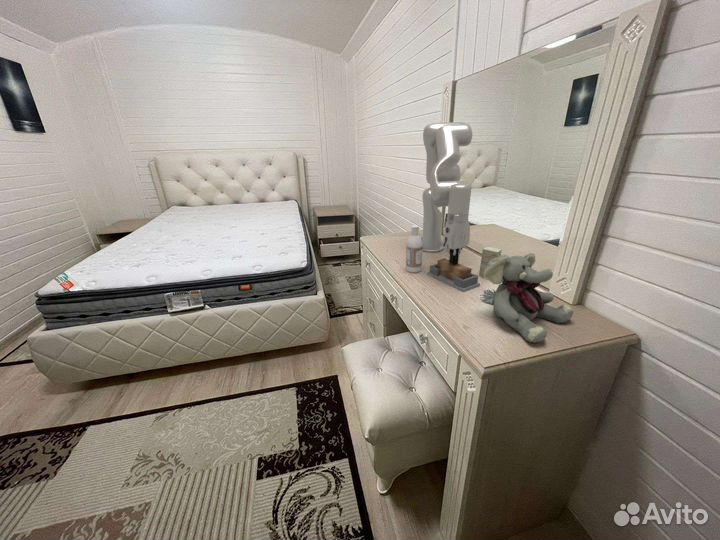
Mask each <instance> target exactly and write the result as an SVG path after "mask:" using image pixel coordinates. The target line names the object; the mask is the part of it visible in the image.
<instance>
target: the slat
mask: <svg viewBox="0 0 720 540" xmlns="http://www.w3.org/2000/svg"><path fill="white" fill-rule="evenodd" d="M436 262H437V263H436V264H437V268H439V269H440V271H439V275H441V276H443V277H446V278H448V279H450V280H452V281H454V277H456V276H457V277H459V278H461V279H466V278H469V277H471V273H472V268H471V267H469V266H466V265H463V264H461V263H458V264H455V265H454V264H452V263H450V262H449V259H448V258H446V257H445V258H441V259H438V260H437V261H436Z"/></svg>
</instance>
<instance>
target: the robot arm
mask: <svg viewBox="0 0 720 540" xmlns="http://www.w3.org/2000/svg"><path fill="white" fill-rule="evenodd" d="M422 135H423V136H422V138H423V139H422V141H423V145H424V148H425V152H426V163H425V164H426V168H425V169H426V172H425V177H426V182H427V183H428V184H429V187H427V188H426V189H424V190H423V193H422V204H423V205H422V206H423V218H422V222H423V223H422V236H420V238H421V240H422V243H423V252H426V251H427V253H437V252H441V250H442V251H444V252H447V253H448V254H449V259H448V260H449V262H450V263H452V264H454V265H455V264H459V259H460V254H461V252H462V250H463V249H464V248H466V247H467V246H468V245H469V244H470V237H471V234H470V233H471V228H470V227H471V225H470V220H469V215H470V206H471V205H470V204H471V194H472V186H471V185H470V184H469V183H467V181H465V180H461V168H460V166H459V162H460V160H461V153H460V152H461V151H460V147H467V146H469V145H470V144H471V143H472V140H473V130H472V127H471V125H470V124H469V123H466V122H464V121H463V122H462V121H453V122H436V123H435V122H433V123H430V124H427V125H425V127H424V129H423V133H422ZM443 207H444V208H445V207H447V216H446V218H445V219H446V222H445V226H444V230H443V213H442V211H440V209H439V208H443ZM442 230H443V231H444V232H443V231H442ZM442 232H443V237H442ZM442 238H443V239H442ZM441 242H442V243H441Z"/></svg>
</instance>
